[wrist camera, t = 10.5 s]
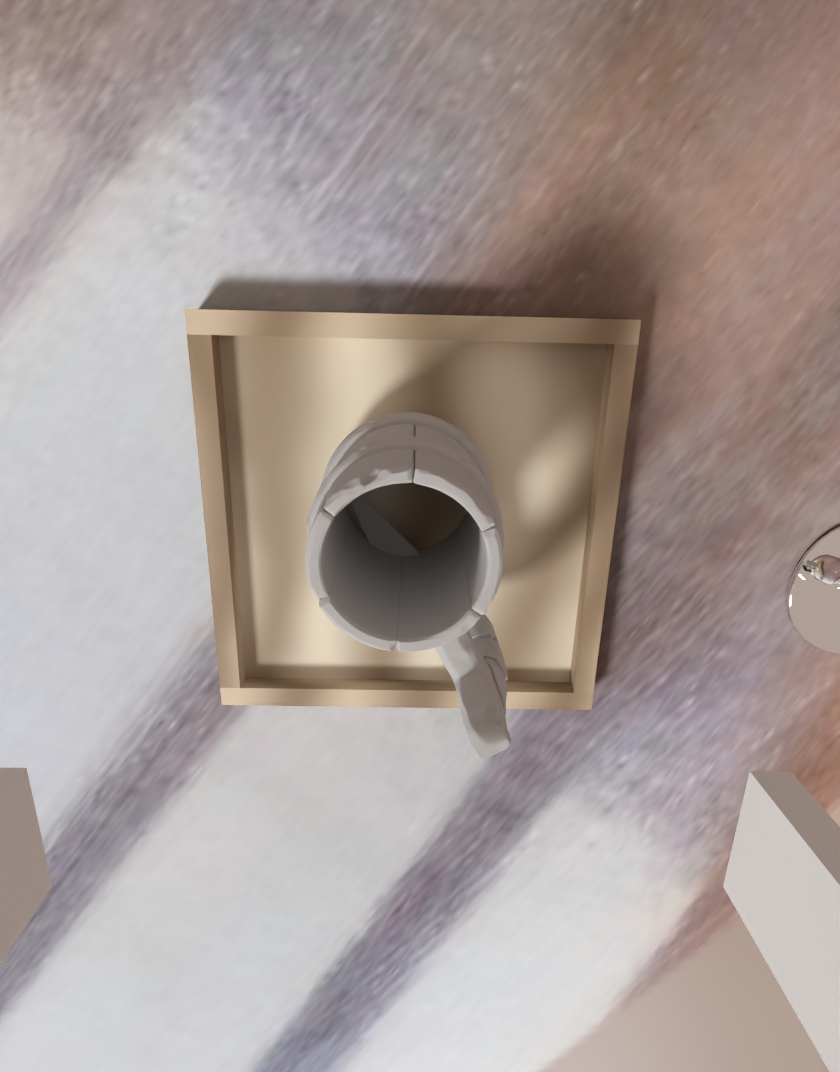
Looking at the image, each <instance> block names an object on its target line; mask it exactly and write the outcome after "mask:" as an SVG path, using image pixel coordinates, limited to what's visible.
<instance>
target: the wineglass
mask: <svg viewBox="0 0 840 1072" xmlns="http://www.w3.org/2000/svg"><path fill="white" fill-rule="evenodd" d="M787 607H788V612H789V617H790V620H791V622H792V624H793V626H794V628H795V630H796V631H797V632H798V633H799V635H800V636H801V637H802V638H803V639H804V640H805V641H807V642H808V643H809V644H811V645H812V646H814V647H816V648H818V649H820V650H823V651H825V652H830V653H834V654H840V527H838V528H836V529H834V530H832V531H830V532H829V533H827V534H826V535H825V536H823V537H822V538H821V539H819V540H818V541H817V542H816V543H815V544H814V545H813V546H812V547H811V548H810V549H809V550H808V551H807V552H806V553H805V555H804V556H803V557H802V559H801V560H800V562H799V563H798V565H797V566H796V569H795V571H794V573H793V575H792V577H791V580H790V584H789V588H788V594H787Z"/></svg>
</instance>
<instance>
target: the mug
mask: <svg viewBox="0 0 840 1072" xmlns="http://www.w3.org/2000/svg"><path fill="white" fill-rule="evenodd" d="M412 482H414V483H415V484H419V485H423V486H427V487H430V488H433V489H436V490H439V491H441V492H443V493H445V494H447V495H448V496H450V497H452V498H453V499H455V500H456V501H457V502H458V503H460V504H461V505H462V506H463V507H464V508H465V509H466V510H467V511H466V514H465V516H464V518H463V519H462V520H461V522H460V524H459V527H457V528H456V529H455V530H454V531H453V532H452V533H451V534H450V535H449V536H448V537H447V538H446V539H444V540H443V541H441V542H440V543H438V544H436V545H433V546H431V547H428V548H425V549H421V550H416V549H415V548H414V547H413V546H412V545H411V544H410V543H409V542H408V541H407V540H406V539H405V538H404V537H403V536H402V535H400V534H399V533H398V532H397V531H396V530H395V529H394V528H393V527H392V526H391V525H390V524H389V523H388V522H387V521H386V520H385V519H384V518H383V517H382V516H381V515H380V514H379V513H378V512H376V511H375V510H374V509H373V508H372V507H371V506H370V505H369V504H368V503H367V502H366V501H365V500H364V499H363V498H362V497H361V496H360V495H362V494H363V493H365V492H367V491H370V490H372V489H375V488H378V487H381V486H385V485H391V484H399V483H412ZM350 502H351V504H352V506H353V508H354V510H355V513H356V515H357V517H358V519H359V521H360V524H361V526H362V528H363V530H364V532H365V534H364V533H363V532H362V531H361V530H360V528H359V527H358V526H357V524H356V523H355V521H354V519H353V518H352V517H351V516H350V515H351V514H350V511H349V508H348V506H347V504H349V503H350ZM307 534H308V540H307V546H306V572H307V578H308V582H309V585H310V587H311V588H312V590H313V591H314V593H315V595H316V596H317V597H318V598H319V607H320V609H321V610H322V611H323V612H324V614H325V615H326V616H327V617H328V618H329V620H330V621H331V622H332V623H333V624H334V625H335V626H336V627H337V628H339V629H340V630H341V631H343V632H344V633H346V634H347V635H349V636H350V637H352V638H353V639H355V640H357V641H359V642H361V643H363V644H366V645H368V646H370V647H373V648H377V649H382V650H388V651H392V650H393V649H394V647H395V645H396V648H397V650H398V651H400V652H415V651H423V650H428V649H432V648H435V649H436V651H437V653H438V655H439V656H440V658H441V660H442V662H443V664H444V665H445V667H446V669H447V671H448V672H449V674H450V675H451V677H452V679H453V682H454V684H455V687H456V692H457V696H458V700H459V704H460V708H461V712H462V717H463V721H464V724H465V728H466V731H467V734H468V737H469V740H470V742H471V744H472V746H473V748H474V750H475V752H476V754H477V755H478V757H479V758H480V759H485V758H488V757H490V756H492V755H495V754H497V753H499V752H501V751H503V750H505V749H507V748H508V747H509V746H510V744H511V739H510V735H509V733H508V730H507V726H506V719H505V714H506V697H507V688H506V681H507V679H508V674H507V669H506V665H505V661H504V657H503V655H502V651H501V649H500V647H499V642H498V639H497V636H496V633H495V630H494V628H493V625H492V623H491V622H490V620H489V618H488V617H487V616H486V615H485V613H486V612H487V607H488V605H489V604H490V603H491V602H492V600H493V599H494V597H495V595H496V593H497V590H498V587H499V584H500V581H501V577H502V571H503V546H504V532H503V525H502V517H501V512H500V508H499V505H498V502H497V499H496V497H495V494H494V492H493V485H492V480H491V476H490V472H489V469H488V467H487V464H486V461H485V459H484V457H483V456H482V454H481V453H480V451H479V450H478V448H477V447H476V446H475V444H474V443H473V442H472V441H471V440H470V439H469V438H468V437H467V435H466V434H465V432H464V431H463V430H461V429H460V428H458V427H455V426H454V425H452V424H450V423H448V422H446V421H444V420H442V419H440V418H437V417H435V416H431V415H428V414H423V413H417V412H398V413H391V414H386V415H383V416H377V417H373V418H371V419H370V420H368V421H366V422H365V423H364V424H362V425H361V426H359V427H358V428H356V429H355V430H354V431H352V432H351V433H350V434H349V435H348V436H347V437H346V438H345V439H344V440H343V441H342V442H341V443H340V445H339V446H338V447H337V449H336V450H335V452H334V453H333V455H332V456H331V458H330V460H329V462H328V465H327V467H326V470H325V473H324V477H323V481H322V483H321V486H320V488H319V490H318V492H317V494H316V497H315V499H314V502H313V505H312V508H311V511H310V514H309V516H308V518H307Z"/></svg>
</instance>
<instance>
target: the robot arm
mask: <svg viewBox="0 0 840 1072" xmlns="http://www.w3.org/2000/svg"><path fill="white" fill-rule="evenodd" d="M723 887H724V889H725V891H726V892H727V894H728V896H729V898H730V899H731V901H732V903H733V905H734V906H735V908H736V910H737V912H738V913H739V915H740V917H741V918H742V920H743V922H744V924H745V925H746V927H747V929H748V931H749V932H750V934H751V936H752V937H753V939H754V941H755V943H756V945H757V946H758V948H759V950H760V951H761V953H762V955H763V956H764V958H765V960H766V962H767V964H768V965H769V967H770V969H771V971H772V972H773V974H774V976H775V978H776V979H777V981H778V983H779V985H780V986H781V988H782V990H783V991H784V993H785V995H786V997H787V998H788V1000H789V1002H790V1004H791V1005H792V1007H793V1009H794V1011H795V1012H796V1014H797V1016H798V1017H799V1019H800V1021H801V1023H802V1025H803V1026H804V1028H805V1030H806V1031H807V1033H808V1035H809V1037H810V1038H811V1040H812V1042H813V1044H814V1045H815V1047H816V1049H817V1050H818V1052H819V1054H820V1056H821V1058H822V1059H823V1061H824V1063H825V1065H826V1066H827V1068H828V1070H829V1071H830V1072H840V827H839V826H838V825H837V824H836V822H835V821H834V820H833V819H832V818H831V817H830V816H829V815H828V813H827V812H826V811H825V810H824V809H823V808H822V807H821V805H820V804H819V803H818V802H817V801H816V800H815V799H814V798H813V796H812V795H811V794H810V793H809V792H808V791H807V790H806V788H805V787H804V786H803V785H802V784H801V783H800V782H799V781H798V779H797V778H796V777H795V776H794V775H793V774H792V773H791V772H750V773H749V777H748V781H747V786H746V790H745V794H744V799H743V803H742V807H741V812H740V816H739V820H738V825H737V829H736V833H735V838H734V842H733V846H732V851H731V855H730V859H729V864H728V868H727V872H726V877H725V881H724V885H723ZM51 888H52V884H51V879H50V874H49V870H48V865H47V861H46V856H45V851H44V847H43V842H42V838H41V833H40V829H39V824H38V819H37V815H36V810H35V806H34V801H33V796H32V792H31V787H30V783H29V778H28V773H27V769H26V768H0V966H1V965H2V963H3V962H4V960H5V959H6V957H7V956H8V954H9V952H10V951H11V949H12V948H13V946H14V945H15V943H16V942H17V940H18V939H19V937H20V935H21V934H22V932H23V931H24V929H25V928H26V926H27V925H28V923H29V922H30V920H31V918H32V917H33V915H34V914H35V912H36V911H37V909H38V908H39V906H40V905H41V903H42V902H43V900H44V898H45V897H46V895H47V894H48V892H49V891H50V889H51Z"/></svg>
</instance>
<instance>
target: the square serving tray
mask: <svg viewBox="0 0 840 1072" xmlns="http://www.w3.org/2000/svg"><path fill="white" fill-rule="evenodd" d="M185 318H186V328H187V339H188V349H189V360H190V371H191V381H192V392H193V403H194V413H195V424H196V435H197V445H198V456H199V466H200V477H201V488H202V498H203V509H204V520H205V530H206V541H207V552H208V562H209V573H210V583H211V594H212V605H213V615H214V626H215V637H216V647H217V658H218V669H219V679H220V690H221V700H222V705H274V706H347V707H420V708H460V704H459V700H458V696H457V692H456V687H455V684H454V682H453V679H452V677H451V675H450V674H449V672H448V671H447V669H446V667H445V665H444V664H443V662H442V660H441V658H440V656H439V655H438V653H437V651H436V649H435V648H432V649H428V650H423V651H415V652H400V651H398V650H397V648H396V645H395V647H394V649H393V650H392V651H388V650H382V649H377V648H373V647H370V646H368V645H366V644H363V643H361V642H359V641H357V640H355V639H353V638H352V637H350V636H349V635H347V634H346V633H344V632H343V631H341V630H340V629H339V628H337V627H336V626H335V625H334V624H333V623H332V622H331V621H330V620H329V618H328V617H327V616H326V615H325V614H324V612H323V611H322V610H321V609H320V607H319V598H318V597H317V596H316V595H315V593H314V591H313V590H312V588H311V587H310V585H309V582H308V578H307V572H306V546H307V540H308V534H307V518H308V516H309V514H310V511H311V508H312V505H313V502H314V499H315V497H316V494H317V492H318V490H319V488H320V486H321V483H322V481H323V477H324V473H325V470H326V467H327V465H328V462H329V460H330V458H331V456H332V455H333V453H334V452H335V450H336V449H337V447H338V446H339V445H340V443H341V442H342V441H343V440H344V439H345V438H346V437H347V436H348V435H349V434H350V433H351V432H352V431H354V430H355V429H356V428H358V427H359V426H361V425H362V424H364V423H365V422H366V421H368V420H370V419H371V418H373V417H377V416H383V415H386V414H391V413H398V412H417V413H423V414H428V415H431V416H435V417H437V418H440V419H442V420H444V421H446V422H448V423H450V424H452V425H454V426H455V427H458V428H460V429H461V430H463V431H464V432H465V434H466V435H467V437H468V438H469V439H470V440H471V441H472V442H473V443H474V444H475V446H476V447H477V448H478V450H479V451H480V453H481V454H482V456H483V457H484V459H485V461H486V464H487V467H488V469H489V472H490V476H491V480H492V485H493V492H494V494H495V497H496V499H497V502H498V505H499V508H500V512H501V517H502V525H503V532H504V546H503V571H502V577H501V581H500V584H499V587H498V590H497V593H496V595H495V597H494V599H493V600H492V602H491V603H490V604H489V605H488V607H487V612H486V613H485V615H486V616H487V617H488V618H489V620H490V622H491V623H492V625H493V628H494V630H495V633H496V636H497V639H498V642H499V647H500V649H501V651H502V655H503V657H504V661H505V665H506V669H507V674H508V679H507V681H506V688H507V697H506V709H565V710H591V707H592V699H593V691H594V684H595V676H596V668H597V660H598V652H599V645H600V637H601V629H602V621H603V614H604V606H605V598H606V590H607V583H608V575H609V567H610V559H611V552H612V544H613V536H614V528H615V520H616V513H617V505H618V497H619V489H620V482H621V474H622V466H623V458H624V451H625V443H626V435H627V427H628V419H629V412H630V404H631V396H632V388H633V381H634V373H635V365H636V357H637V350H638V342H639V334H640V326H641V320H633V319H590V318H548V317H505V316H463V315H420V314H378V313H335V312H292V311H250V310H207V309H185ZM360 496H361V497H362V498H363V499H364V500H365V501H366V502H367V503H368V504H369V505H370V506H371V507H372V508H373V509H374V510H375V511H376V512H378V513H379V514H380V515H381V516H382V517H383V518H384V519H385V520H386V521H387V522H388V523H389V524H390V525H391V526H392V527H393V528H394V529H395V530H396V531H397V532H398V533H399V534H400V535H402V536H403V537H404V538H405V539H406V540H407V541H408V542H409V543H410V544H411V545H412V546H413V547H414V548H415V549H416V550H421V549H425V548H428V547H431V546H433V545H436V544H438V543H440V542H441V541H443V540H444V539H446V538H447V537H448V536H449V535H450V534H451V533H452V532H453V531H454V530H455V529H456V528H457V527H459V524H460V522H461V520H462V519H463V518H464V516H465V514H466V511H467V510H466V509H465V508H464V507H463V506H462V505H461V504H460V503H458V502H457V501H456V500H455V499H453V498H452V497H450V496H448V495H447V494H445V493H443V492H441V491H439V490H436V489H433V488H430V487H427V486H423V485H419V484H415V483H414V482H412V483H399V484H391V485H385V486H381V487H378V488H375V489H372V490H370V491H367V492H365V493H363V494H362V495H360ZM347 506H348V508H349V511H350V514H351V515H350V516H351V517H352V518H353V519H354V521H355V523H356V524H357V526H358V527H359V528H360V530H361V531H362V532H363V533H364V534H365V532H364V530H363V528H362V526H361V524H360V521H359V519H358V517H357V515H356V513H355V510H354V508H353V506H352V504H351V502H350V503H349V504H347Z"/></svg>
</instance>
